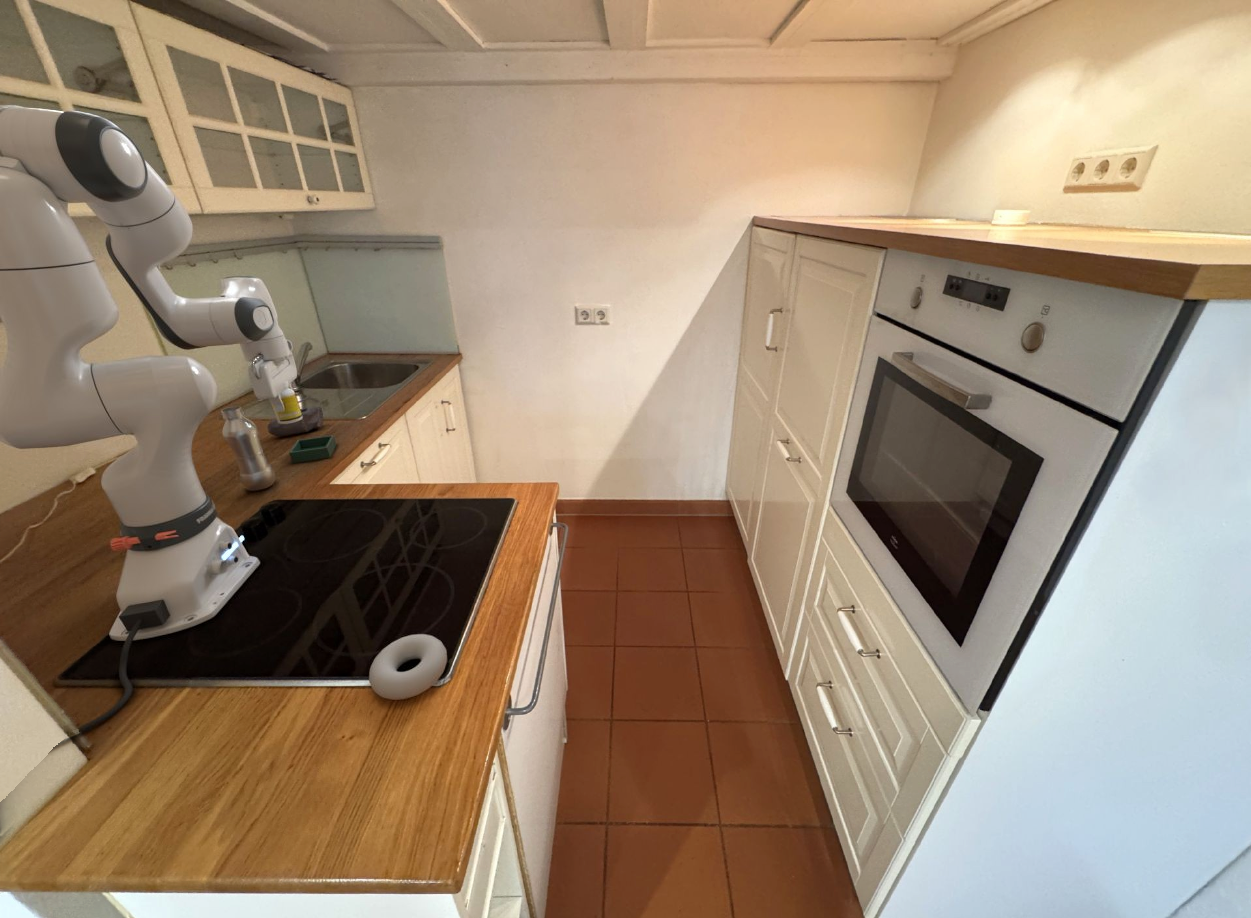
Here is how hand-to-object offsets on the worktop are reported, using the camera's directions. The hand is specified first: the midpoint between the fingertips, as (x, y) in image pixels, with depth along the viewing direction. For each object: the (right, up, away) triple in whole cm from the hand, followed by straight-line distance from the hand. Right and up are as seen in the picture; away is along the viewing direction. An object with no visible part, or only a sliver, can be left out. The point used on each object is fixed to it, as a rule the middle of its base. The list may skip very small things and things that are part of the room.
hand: (285, 406), depth 121 cm
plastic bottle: (-5, -20, -1) cm, 20 cm away
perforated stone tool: (-16, -5, +30) cm, 34 cm away
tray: (-2, -11, +15) cm, 19 cm away
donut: (+53, -43, -52) cm, 86 cm away
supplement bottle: (0, -3, +2) cm, 4 cm away
